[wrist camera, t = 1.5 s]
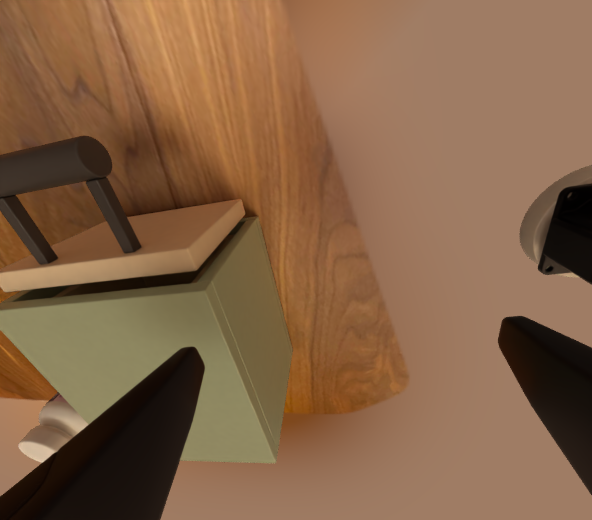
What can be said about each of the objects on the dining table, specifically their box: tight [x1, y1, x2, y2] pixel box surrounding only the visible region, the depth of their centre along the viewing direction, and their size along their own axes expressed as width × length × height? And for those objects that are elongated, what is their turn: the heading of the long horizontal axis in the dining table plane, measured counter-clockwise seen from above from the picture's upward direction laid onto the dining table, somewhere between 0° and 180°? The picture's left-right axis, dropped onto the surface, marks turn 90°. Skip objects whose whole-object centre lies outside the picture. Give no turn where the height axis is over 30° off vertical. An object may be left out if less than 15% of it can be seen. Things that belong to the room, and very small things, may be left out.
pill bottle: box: [18, 392, 88, 463], centre depth 26 cm, size 5×5×10 cm
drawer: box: [0, 136, 245, 298], centre depth 18 cm, size 18×11×8 cm, turn 10°
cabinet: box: [0, 216, 293, 463], centre depth 20 cm, size 15×13×10 cm
